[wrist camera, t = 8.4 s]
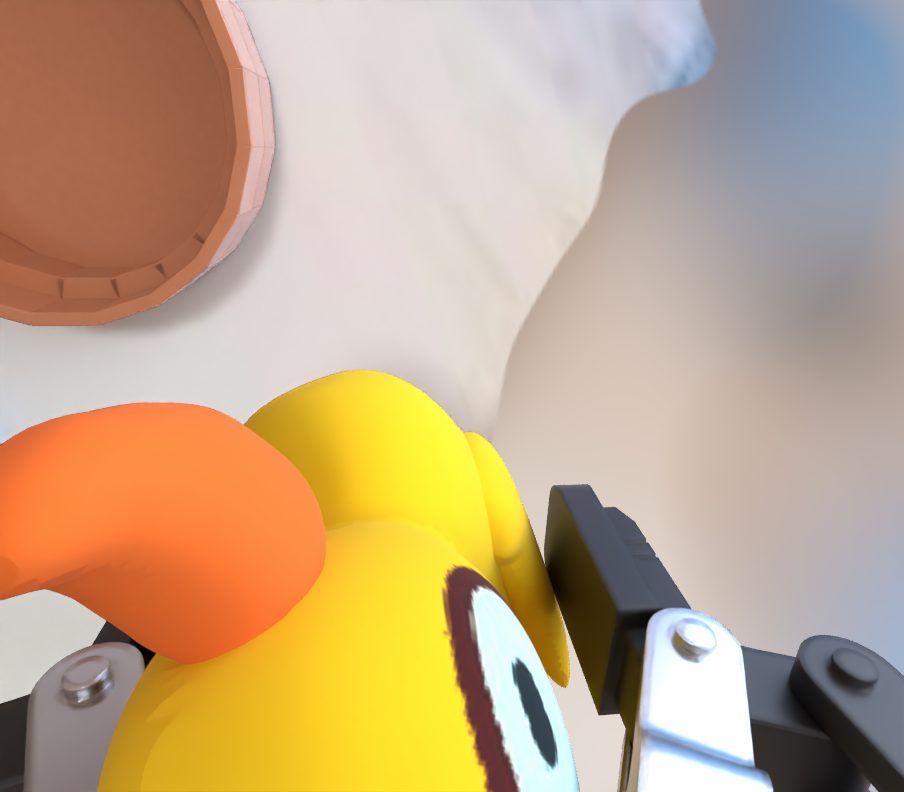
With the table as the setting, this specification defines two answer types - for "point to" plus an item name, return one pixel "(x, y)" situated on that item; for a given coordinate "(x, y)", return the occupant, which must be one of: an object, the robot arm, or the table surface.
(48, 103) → the bowl
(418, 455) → the duckling
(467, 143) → the table surface
